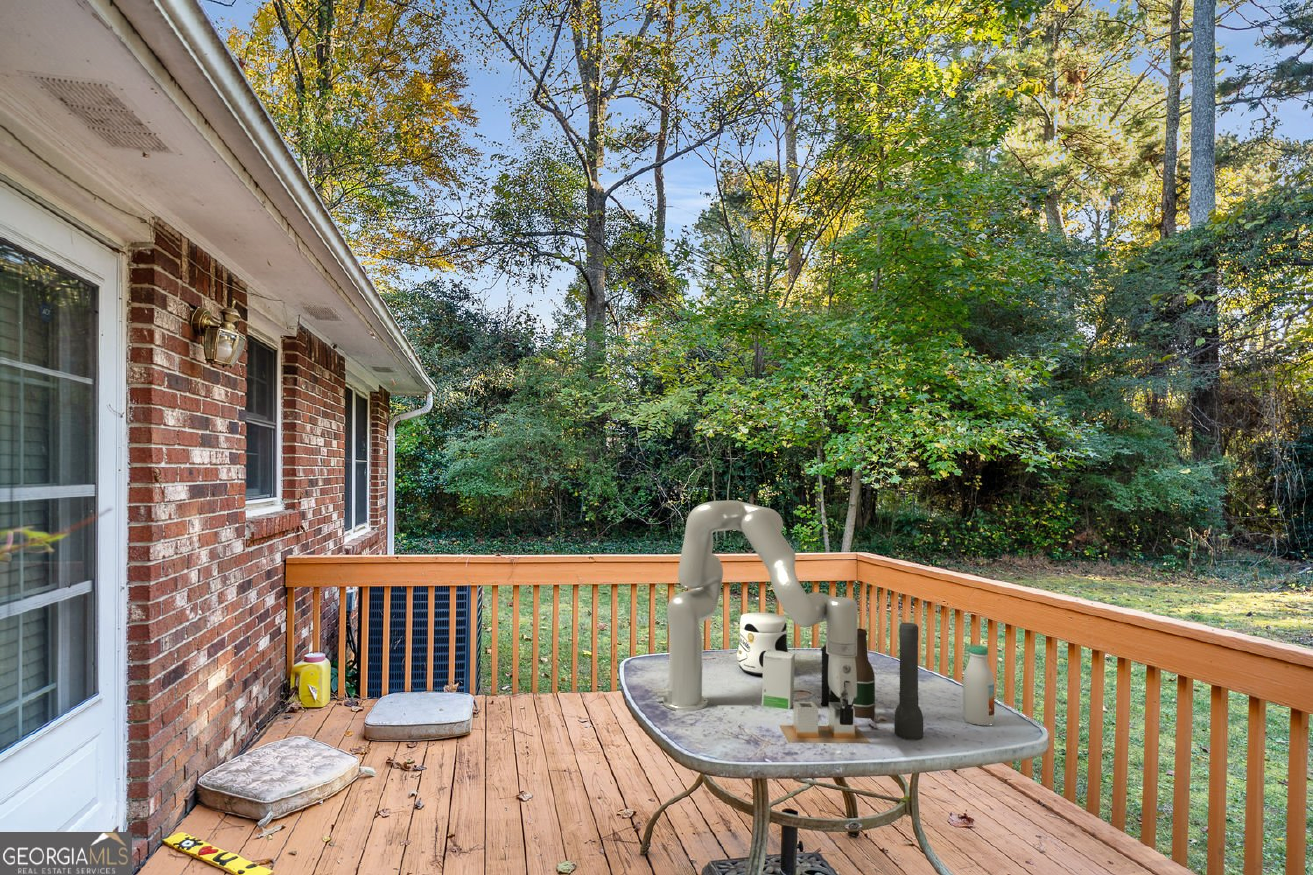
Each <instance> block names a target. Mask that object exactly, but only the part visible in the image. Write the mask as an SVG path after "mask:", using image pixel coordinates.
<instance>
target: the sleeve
mask: <svg viewBox="0 0 1313 875" xmlns="http://www.w3.org/2000/svg"><path fill="white" fill-rule="evenodd" d="M840 707H841V703H840V702H829V707H828V725H827V726H828V731H829V732H830V733H831V735H832V736H833V738H855V726H856V725H855V724H856V723H855V721H856V720H855V719H856V717H855V709H853V725H841V724H840Z"/></svg>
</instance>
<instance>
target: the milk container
mask: <svg viewBox="0 0 1313 875" xmlns="http://www.w3.org/2000/svg"><path fill="white" fill-rule="evenodd" d="M739 621H740V622H739V644H738V648H737V652H736V660H737V666H738V667H739V668H740V670H742V671H743V672H745V673H747V674H752V675H757V676H763V657H764V653H765V652H766V651H767V649H769V650H776V651H784V652H789V649H788V644H787V640H788V630H787V625H788V624H787V618H786V616H785V615H781V614H777V613H774V612H773V613H772V612H756V611H755V612H747V613H743V614H742V615H740V620H739Z"/></svg>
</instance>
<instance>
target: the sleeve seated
mask: <svg viewBox="0 0 1313 875" xmlns="http://www.w3.org/2000/svg"><path fill="white" fill-rule="evenodd" d="M792 716H793V724H792V725H793V731H794V733H795V735H796V736H797V738H819V733H818V726H819V707H818V706H817V705H816V704H815V702H814V701H793V715H792Z"/></svg>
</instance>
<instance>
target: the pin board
mask: <svg viewBox="0 0 1313 875" xmlns="http://www.w3.org/2000/svg"><path fill="white" fill-rule="evenodd" d="M779 728H780V730H781V732H782V734H783V736H784V738H785V739H786V741H787V743H789V744H790V743H792V744H793V743H794V744H795V743H796V744H797V743H799V744H800V743H801V744H802V743H804V744H806V743H807V744H813V743H814V744H871V742H870V740H869V739H868V738H867V737H866V736H865V735H864V733H863V732H862V731H861V730H860V728H859V727H858V726H857V725H855V738H833V736H832V735H831V733H830V732H829V731H828V725H818V733H819V738H797V736H796V735H795V733H794V731H793V724H792V725H788V724H787V725H785V724H784V725H782V724H781V725H779Z"/></svg>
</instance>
